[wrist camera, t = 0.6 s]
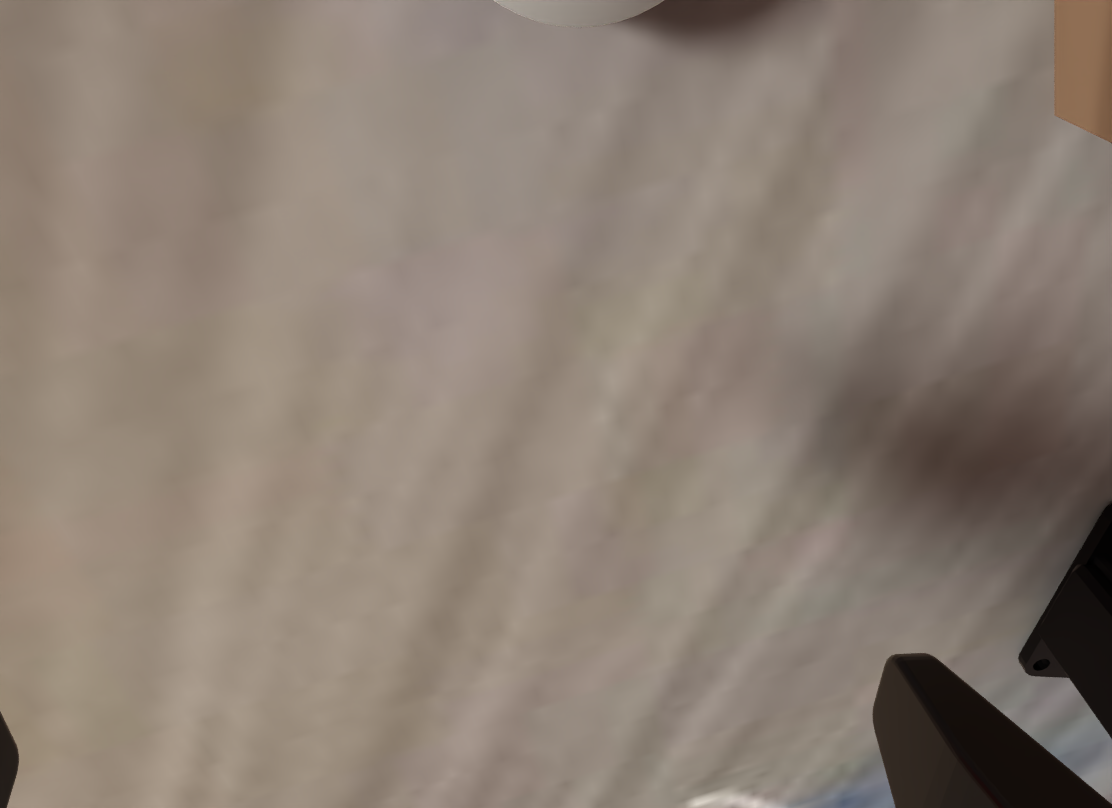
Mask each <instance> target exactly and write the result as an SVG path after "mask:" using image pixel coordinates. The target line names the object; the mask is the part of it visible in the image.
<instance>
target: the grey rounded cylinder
mask: <svg viewBox="0 0 1112 808" xmlns="http://www.w3.org/2000/svg"><path fill="white" fill-rule="evenodd" d="M493 1H495V2H496V3H498V4H499V5H501V6H503V7H504V8H506V9H508V10H510V11H512V12H514V13H516V14H518V15H520V16H523V17H526V18H528V19H531V20H534V21H537V22H540V23H545V24H550V25H554V26H561V27H575V28H582V27H596V26H602V25H607V24H612V23H616V22H620V21H623V20H626V19H628V18H631V17H634V16H637V15H639V14H641V13H643V12H645V11H647V10H649V9H651V8H653V7H655V6H657V5H658V4H660V3H661V2H662V1H664V0H493Z"/></svg>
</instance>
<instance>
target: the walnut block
mask: <svg viewBox="0 0 1112 808" xmlns="http://www.w3.org/2000/svg"><path fill="white" fill-rule="evenodd" d="M1055 116H1057V117H1059V118H1061V119H1063V120H1065V121H1068V122H1070V123H1072V124H1074V125H1076V126H1078V127H1080V128H1082V129H1084V130H1086V131H1088V132H1090V133H1092V134H1094V135H1096V136H1098V137H1100V138H1103V139H1105V140H1107V141H1109V142H1111V143H1112V0H1055Z"/></svg>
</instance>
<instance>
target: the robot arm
mask: <svg viewBox="0 0 1112 808" xmlns="http://www.w3.org/2000/svg"><path fill="white" fill-rule="evenodd" d="M1018 660H1019V663H1020V664H1021V666H1022V667H1023V669H1024V670H1025V672H1026V673H1027V674H1029V675H1031V676H1041V677H1064V678H1070V680H1071V681H1072V683H1073V684H1074V686H1075V687H1076V688H1077V690H1078V691H1079V693H1080V694H1081V696H1082V697H1083V698H1084V700H1085V701H1086V703H1087V704H1088V706H1089V707H1090V708H1091V710H1092V711H1093V713H1094V714H1095V716H1096V717H1097V718H1098V720H1099V721H1100V723H1101V724H1102V726H1103V727H1104V728H1105V730H1106V731H1107V733H1108V734H1109V736H1110V737H1111V738H1112V504H1111V505H1110V506H1108V507H1107V508H1106V509H1105V510H1104V511H1103V513H1102V514H1101V516H1100V517H1099V519H1098V521H1097V523H1096V524H1095V526H1094V528H1093V529H1092V531H1091V533H1090V535H1089V536H1088V538H1087V540H1086V541H1085V543H1084V545H1083V546H1082V548H1081V550H1080V552H1079V553H1078V555H1077V557H1076V558H1075V560H1074V562H1073V564H1072V565H1071V567H1070V569H1069V570H1068V572H1067V574H1066V576H1065V577H1064V579H1063V581H1062V582H1061V584H1060V586H1059V587H1058V589H1057V591H1056V593H1055V594H1054V596H1053V598H1052V599H1051V601H1050V603H1049V605H1048V606H1047V608H1046V610H1045V611H1044V613H1043V615H1042V616H1041V618H1040V620H1039V622H1038V623H1037V625H1036V627H1035V628H1034V630H1033V632H1032V634H1031V635H1030V637H1029V639H1028V640H1027V642H1026V644H1025V645H1024V647H1023V649H1022V651H1021V652H1020V654H1019V657H1018ZM873 724H874V730H875V734H876V737H877V741H878V745H879V748H880V752H881V756H882V759H883V763H884V767H885V771H886V774H887V778H888V782H889V785H890V789H891V793H892V796H893V800H894V804H895V807H896V808H1112V804H1111V803H1110V802H1108V801H1107V800H1106V799H1105V798H1104V797H1102V796H1101V795H1100V794H1099V793H1098V792H1096V791H1095V790H1094V789H1093V788H1092V787H1090V786H1089V785H1088V784H1087V783H1086V782H1084V781H1083V780H1082V779H1081V778H1080V777H1078V776H1077V775H1076V774H1075V773H1074V772H1072V771H1071V770H1070V769H1069V768H1068V767H1066V766H1065V765H1064V764H1063V763H1062V762H1060V761H1059V760H1058V759H1057V758H1056V757H1054V756H1053V755H1052V754H1051V753H1050V752H1048V751H1047V750H1046V749H1045V748H1044V747H1042V746H1041V745H1040V744H1039V743H1038V742H1036V741H1035V740H1034V739H1033V738H1032V737H1030V736H1029V735H1028V734H1027V733H1026V732H1024V731H1023V730H1022V729H1021V728H1020V727H1018V726H1017V725H1016V724H1015V723H1014V722H1012V721H1011V720H1010V719H1009V718H1008V717H1006V716H1005V715H1004V714H1003V713H1002V712H1000V711H999V710H998V709H997V708H996V707H994V706H993V705H992V704H991V703H990V702H988V701H987V700H986V699H985V698H984V697H982V696H981V695H980V694H979V693H978V692H976V691H975V690H974V689H973V688H972V687H970V686H969V685H968V684H967V683H966V682H964V681H963V680H962V679H961V678H960V677H958V676H957V675H956V674H955V673H954V672H952V671H951V670H950V669H949V668H948V667H946V666H945V665H944V664H943V663H942V662H940V661H939V660H938V659H937V658H935V657H933V656H932V655H930V654H926V653H911V654H895V655H892V656H890V657H889V658H888V659H887V661H886V664H885V666H884V670H883V673H882V677H881V681H880V684H879V688H878V691H877V695H876V698H875V702H874V706H873ZM18 764H19V754H18V748H17V745H16V743H15V741H14V739H13V737H12V735H11V733H10V731H9V728H8V726H7V724H6V722H5V720H4V718H3V716H2V714H1V712H0V808H7V805H8V802H9V798H10V795H11V792H12V788H13V785H14V782H15V778H16V775H17V771H18Z"/></svg>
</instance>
